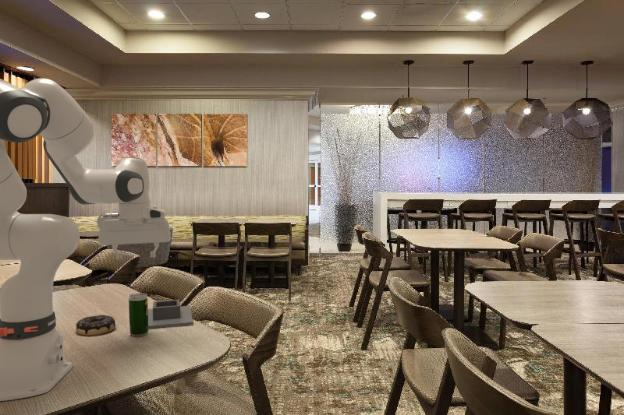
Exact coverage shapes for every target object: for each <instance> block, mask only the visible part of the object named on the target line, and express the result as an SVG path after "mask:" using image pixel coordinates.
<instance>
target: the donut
mask: <svg viewBox="0 0 624 415" xmlns="http://www.w3.org/2000/svg"><path fill="white" fill-rule="evenodd" d="M115 328H116V319H114V317H113V316H111V315H108V314H107V315H106V314H99V315H91V316H86V317H82V318H81V319H79V320H78V321H77V322H76V324H75V332H76V333H77V334H79V335H82V336H99V335H105V334H107V333H110V332H111V331H113V330H114V329H115Z"/></svg>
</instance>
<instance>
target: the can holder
mask: <svg viewBox="0 0 624 415" xmlns="http://www.w3.org/2000/svg"><path fill="white" fill-rule="evenodd" d="M180 300H181V299H170V300H168V299H167V300H157V301H156V300H155V301H153V302H152V308H148V327H149V330H155V329H166V328H176V327H185V326H186V327H187V326H193V325H194V320H193V313H192V308H191V305H183V306H181V302H180Z"/></svg>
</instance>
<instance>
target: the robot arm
mask: <svg viewBox="0 0 624 415" xmlns="http://www.w3.org/2000/svg"><path fill="white" fill-rule="evenodd" d="M94 132H95V130H94V125H93V122H92V120H91V119H90V117H89V115H88V114H87V113H86V112H85V111H84V109H83V108H82V107H81V106H80V104H79V103H78V102H77V100H75V99H74V97H73V96H71V95H70V94H69V92H67V91H66V90H65V89H64V88H63V87H62V86H61V85H59V84H58V83H57V82H56V81H54V80H52V79H50V78H45V77H44V78H43V77H42V78H41V77H40V78H36V79H31V80H30V81H29V82H27V83H25V84H24V85H23V86H21V87H18V86H16V85H13V84H12V83H10V82H9V81H6V80H4V79H1V78H0V261H18V260H19V261H20V266H19V267H20V268H19V270H18V272H17V273H16V274H15V275H12V276H11V277H9V278H7V279H6V280H5V281H4V282H3V283H2V284H1V286H0V402H1V401H4V402H5V401H11V400H18V399H25V398H30V397H34V396H38V395H42V394H46V393H48V392H50V390H52V389H53V388H54V386H56V384H58V383H59V381H61V380H62V379H63V378H64V377H65V376H66V375H67V374H68V372H70V371H72V369H73V366H74V365H73V362H71V361H66V353H65V343H64V336H63V334H62V333H60V332H59V331H58V330H57V329H56V326H57V325H56V324H57V323H56V322H57V317H56V312H55V311H54V301H53V300H54V299H53V298H54V293H53V292H54V290H53V289H54V280H55V276H56V274H57V271H58V269H60V266H61V265H62V263H63V262H64V261H65V260H66V259H67V258H69V257H70V256H71V255H72V254H74V252H75V250H77V248H78V247H79V243H80V240H81V239H80V237H81V234H80V230H79V229H80V228H79V227H78V225H77V223H76V222H75V220H73V219H72V218H71V217H68V216H64V215H59V214H53V213H28V214H27V213H20V212H19V211H18V210H20V209H21V208H22V207H23V205H24V204H25V202H26V200H27V197H28V196H27V195H28V194H27V192H28V191H27V187H26V185H25V184H24V182H23V180H22V178H21V176H20V175H19V173H18V171H17V169H16V167H15V166H14V163H13V162H12V159H11V158H10V157H9V155H8V153H7V149H6V142H5V141H7V142H10V143H17V144H18V143H21V144H22V143H27V142H30V141H31V140H33V139H35V138H36V137H38V136H39V135H40V137H42V139H43V147H42V148H43V150H44V153H45V154H46V156H47V158H48V159H49V161H50V162H51V164H52V165H53V167H54V169H56V171H57V173H59V175H60V176H61V178H62V179H63V181H64V182H65V184H66V185H67V187H68V190H69V192H70V195H71V196H72V198H73V199H74V200H75V201H76V202H77V203H78V204H80V205H95V204H107V205H109V204H110V205H111V204H118V212H114V213H113V212H112V213H107V212H105V213H102V214H101V215H98V217H97V219H96V221H97V222H96V224H97V227H98V229H99V231H98V243H99V245H101V246H111V249H112V251H113V252H114V253H115V255H116V260H118V261H120V260H121V261H122V260H123V252H120V251H119V250H118V247H119V245H132V244H133V245H136V244H153V247H154V249H153V250H152V251H150V252H149V253H150V254H149V255H150V256H149V257H150V258H151V259H155V258H156V256H157V254H156V252H157V250H158V249H159V247H160V243H169V242H170V241H171V239H172V237H171V227H170V223H169V221H168V219H167V218H166V215H167V213H166V210H164V209H162V208H159V207H155V206H151V200H150V196H149V192H150V175H149V168H148V164H147V162H146V160H145V159H142V158H139V157H134V156H133V157H132V156H130V157H129V156H127V157H121V158H119V161H118V164H117V165H116V166H115V167H113V168H108V169H107V168H101V169H100V168H99V169H95V168H89V167H85V166H83V165H82V163H81V161H80V160H79V159H78V157H77V155H80V154H81V153H82V152H84V151H85V150H86V149H87V148H88V147H89V146H90V144H91V143H92V140H93V137H94Z"/></svg>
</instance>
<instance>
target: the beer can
mask: <svg viewBox="0 0 624 415" xmlns="http://www.w3.org/2000/svg"><path fill="white" fill-rule="evenodd" d="M128 297H129V298H128V315H129V316H128V317H129V320H128V321H129V334H130V336H131V337H136V338H140V337H144V336H146V335H148V334H149V330H150V329H149V327H148V309H149V304H148V301H149V300H148V296H147V293H143V292H137V293H132V294H130V295H129V296H128Z"/></svg>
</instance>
